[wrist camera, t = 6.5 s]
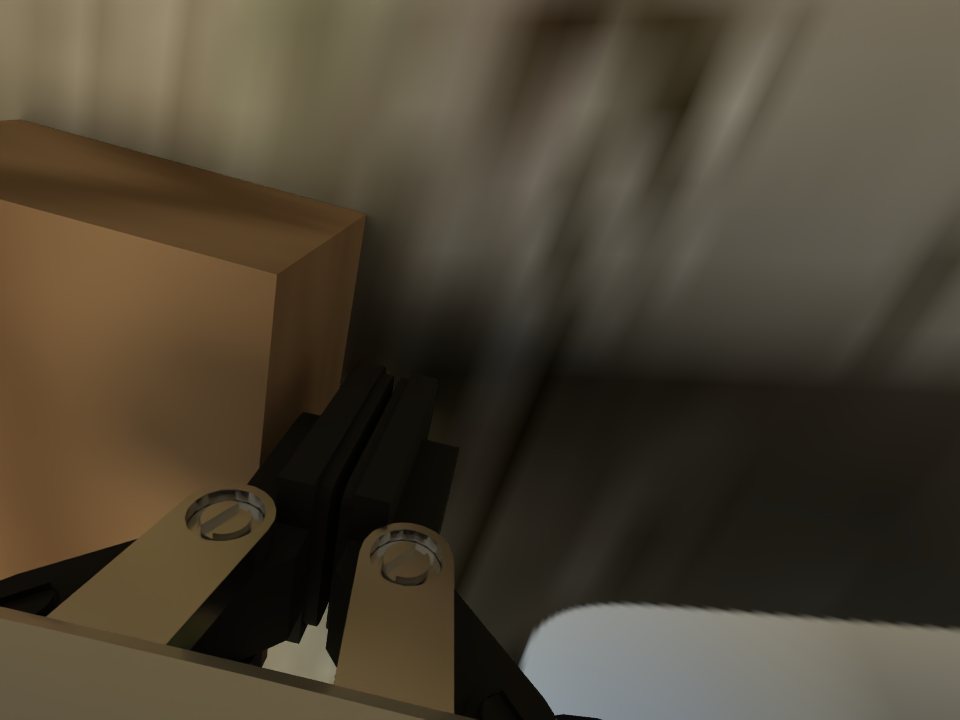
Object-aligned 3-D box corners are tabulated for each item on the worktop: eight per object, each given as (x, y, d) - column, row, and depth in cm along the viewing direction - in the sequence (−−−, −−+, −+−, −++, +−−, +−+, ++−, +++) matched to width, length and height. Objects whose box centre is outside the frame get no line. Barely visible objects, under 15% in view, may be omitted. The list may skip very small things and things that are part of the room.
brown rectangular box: (370, 211, 13) (276, 274, 9) (318, 534, 18) (238, 688, 13) (30, 119, 13) (-241, 134, 9) (63, 466, 18) (-106, 596, 13)
